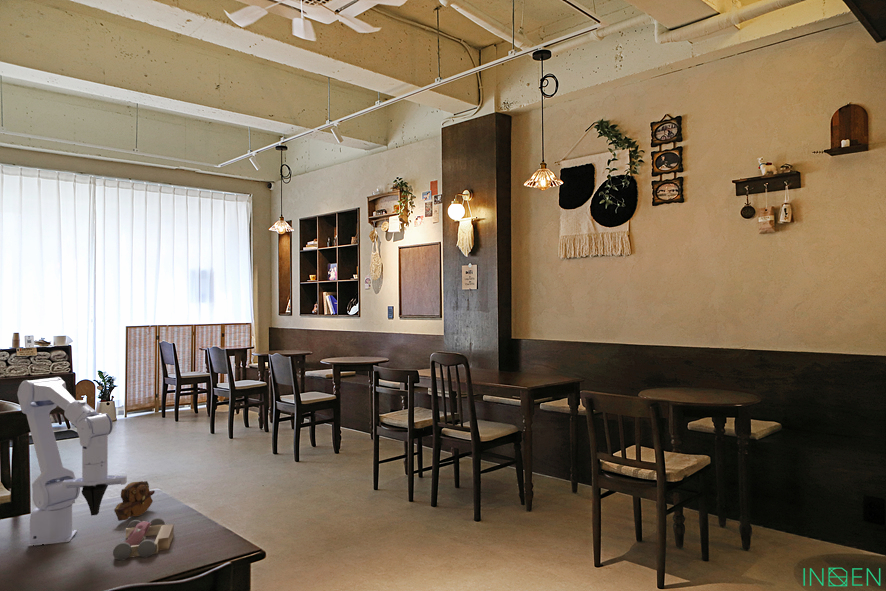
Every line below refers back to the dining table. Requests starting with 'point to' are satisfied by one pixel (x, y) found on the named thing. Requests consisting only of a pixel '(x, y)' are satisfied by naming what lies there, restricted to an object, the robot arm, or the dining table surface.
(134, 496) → the wooden carving
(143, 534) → the pink toy figure
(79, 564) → the dining table surface
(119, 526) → the dining table surface
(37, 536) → the robot arm
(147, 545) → the chassis
